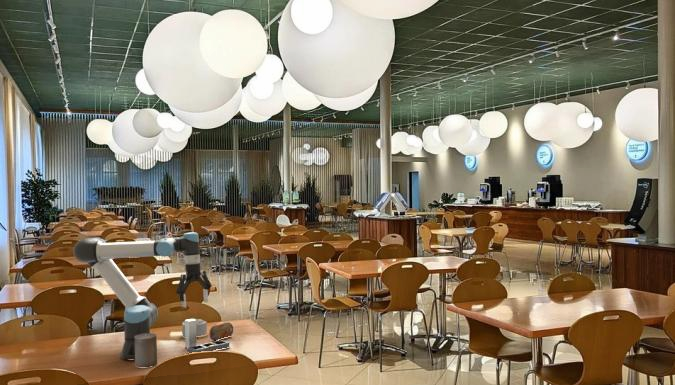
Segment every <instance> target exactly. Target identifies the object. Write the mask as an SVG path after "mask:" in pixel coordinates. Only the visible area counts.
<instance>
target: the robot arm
mask: <svg viewBox="0 0 675 385" xmlns="http://www.w3.org/2000/svg"><path fill="white" fill-rule="evenodd" d="M72 251H73V252H72V253H73V256H74V258H75V260H77V261H78V262H80V263H83V264H87V265H88V266H89V267H90V269H95V270H96V272H98V274H99V275H100V276H101V277H102V279H104V281H105V283H106V284H107V285H108V286H109V288H110V290H112V291H113V293H114V294H115V295H116V297H117V298H118V300H119V301H121V304H122V305H123V306H124V308H125V309H124V313H123V314H124V315H123V323H124V324H123V325H124V326H123V327H124V328H123V331H124V332H123V333H124V340H123V341H124V342H123V345H122V349H121V352H120V359H121V358H122V359H121V360H124V359H135V338H134V337H135V336H136V335H139V334H145V333H151V329H150V328H151V326H152V325H154V324H155V322H156V321H157V319H158V315H159V313H158V308H157V306H156V305H155V304H154V303H152V302H151V301H149V300H148V299H147V298H146V296H141V295H140V294H139V292H138V291H137V290H136V289H135V288H134V286H133V285H132V283H130V281H129V280H128V278H127V277H126V276H125V275H124V273H123V272H122V271H121V269H120V268H119V267H118V266H117V264H116V263H115V262H114V260H113V259H123V258H125V259H126V258H142V257H143V258H145V257H146V258H147V257H165V258H166V257H169V256H171V255H172V254H174V253H184V263H185V265H184V266H185V272H186V273H184V274H180V279H179V282H178V284H177V288H176V290H175V291H176V292H175V294H176V295H179V301H180V302H181V308H187V301H186V300H187V298H186V296H187V295H186V294H185V293H186V291H187V290H188V288H189V286H190V284H191V283H194V282H198V283H199V284H200V285H201V287H202V288H203V289H202V292H203V294H202V295H203V303H209V294H210V292H209V290H210V289H211V288H212V284H211V282H210V280H209V277H208V276H207V271H206V270H201V269H202V268H201V263H200V262H201V256H200V238H199V234H198V233H197V232H196V231H195V232H185V233H183V235H182V236H181V237H165V238H160V239H159V240H143V241H142V240H141V241H122V242H119V241H118V242H106V241H105V239H103V238H101V237H98V236H91V237H87V238H84V239H83V238H82V239H81V240H79V241H77V242H76V243H75V244H74V247H73V250H72Z"/></svg>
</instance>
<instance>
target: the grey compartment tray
mask: <svg viewBox="0 0 675 385" xmlns="http://www.w3.org/2000/svg"><path fill="white" fill-rule="evenodd" d="M227 347H229V348H230V342H229V341H226V340H219V341H211V342H206V343H201V344H196V346H192V347H188V348H187V353H188V352H189V353H192V352H201V351H213V350H216V349H222V348H227Z"/></svg>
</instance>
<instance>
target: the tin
mask: <svg viewBox="0 0 675 385" xmlns="http://www.w3.org/2000/svg"><path fill="white" fill-rule="evenodd" d="M208 333H209V338H210V340H212V341H213V340H218V339H221V338H224V337H228V336H231V337H232V336H233V334H234V326H233V324H232V323H231V322H222V323H218V324H214V325H213V326H211V328H210V330H209V332H208Z"/></svg>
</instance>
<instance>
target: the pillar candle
mask: <svg viewBox="0 0 675 385" xmlns="http://www.w3.org/2000/svg"><path fill="white" fill-rule="evenodd" d="M134 338H135V360H134V365H135V366H137V367H150V366H154V365H156V364H157V365H158V349H157V348H158V345H157V344H158V343H157V341H158V340H157V334H156V333H153V332H150V333H145V334H139V335H136V336H135V337H134ZM157 365H156V366H157ZM137 367H136V368H137ZM154 367H155V366H154Z"/></svg>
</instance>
